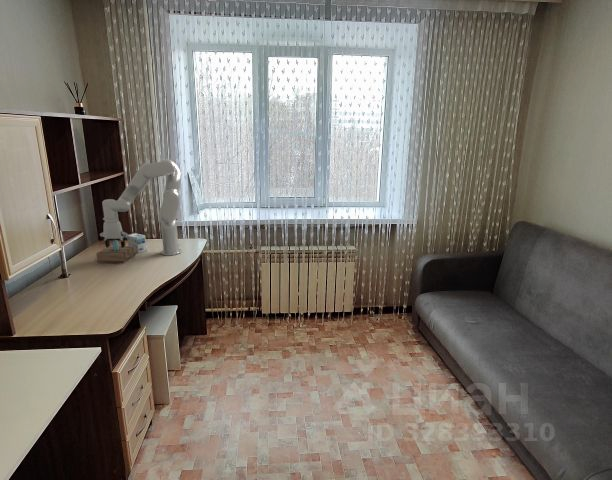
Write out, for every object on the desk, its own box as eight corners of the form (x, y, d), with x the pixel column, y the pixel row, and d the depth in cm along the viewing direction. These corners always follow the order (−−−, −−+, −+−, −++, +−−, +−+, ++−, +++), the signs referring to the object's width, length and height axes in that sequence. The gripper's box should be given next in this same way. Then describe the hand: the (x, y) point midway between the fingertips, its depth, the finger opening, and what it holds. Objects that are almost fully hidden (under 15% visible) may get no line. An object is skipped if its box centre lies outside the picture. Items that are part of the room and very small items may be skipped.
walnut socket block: (111, 254, 256) (110, 245, 255) (135, 255, 255) (134, 246, 254) (97, 262, 241) (96, 253, 239) (123, 263, 240) (121, 254, 238)
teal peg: (113, 257, 246) (111, 241, 243) (116, 255, 249) (113, 240, 246) (118, 257, 246) (116, 241, 243) (120, 255, 249) (118, 240, 246)
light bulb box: (147, 250, 264) (145, 235, 261) (138, 253, 259) (136, 237, 256) (137, 248, 270) (135, 232, 266) (128, 250, 264) (126, 235, 261)
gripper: (94, 221, 238) (98, 248, 243) (122, 221, 237) (126, 249, 242) (101, 218, 245) (105, 244, 250) (128, 218, 244) (132, 245, 249)
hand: (115, 246), depth 246 cm, fingers open, 9 cm apart
